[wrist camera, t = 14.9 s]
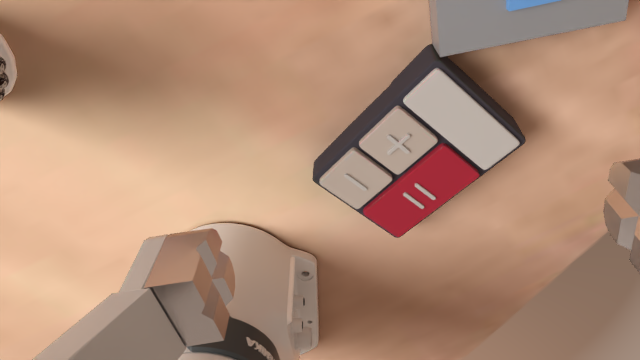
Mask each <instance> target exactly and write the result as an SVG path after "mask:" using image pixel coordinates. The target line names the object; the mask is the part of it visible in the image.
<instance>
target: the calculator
mask: <svg viewBox="0 0 640 360" xmlns="http://www.w3.org/2000/svg"><path fill="white" fill-rule="evenodd" d="M524 143H525V137H524V135H523V134H522V132H521V130H520V128H519V127H518V125H517V123H516V122H515V120H514V119H513V117H511V116H510V115H509V114H508V113H507V112H506V111H505V110H504V109H503V108H502V107H501V106H500V105H499V104H498V103H496V102H495V101H494V100H493V99H492V98H491V97H490V96H489V95H488V94H487V93H486V92H485V91H484V90H482V89H481V88H480V87H479V86H478V85H477V84H476V83H475V82H474V81H473V80H472V79H471V78H470V77H468V76H467V75H466V74H465V73H464V72H463V71H462V70H461V69H460V68H459V67H458V66H457V65H456V64H454V63H453V62H452V61H451V60H450V59H449V58H448V57H447V56H444V57H440V56H439V55H438V53H437V51H436V50H435V48H434V46H433V44H430V45H428V46H426V47H425V48H424V49H423V50H422V51H421V52H420V53H419V55H418V56H417V57H416V58H415V59H414V60H413V61H412V62H411V63H410V64H409V65H408V66H407V67H406V68H405V69H404V70H403V71H402V72H401V73H400V74H399V75H398V76H397V77H396V78H395V79H394V80H393V82H392V83H391V85H390V86H389V87H388V88H387V89H386V90H385V91H384V92H383V93H382V94H381V95H380V96H379V97H378V98H377V99H376V100H375V101H374V102H373V103H372V104H371V105H370V106H369V107H368V108H367V109H366V110H365V111H364V112H363V113H362V114H361V115H360V116H359V117H358V118H357V119H356V120H354V121H353V122H352V123H351V124H350V125H349V126H348V127H347V128H346V129H345V131H344V132H343V133H342V134H341V135H340V136H339V137H338V138H337V139H336V140H335V141H334V142H333V143H332V144H331V145H330V146H329V147H328V148H327V149H326V150H325V151H324V152H323V153H322V154H321V155H320V156H319V157H318V158H317V159H316V160H315V162H314V168H313V181H314V182H315V183H317V184H318V185H319V186H321V187H322V188H324V189H325V190H327V191H328V192H330V193H331V194H333V195H334V196H336V197H337V198H338V199H340V200H341V201H343V202H344V203H346V204H347V205H349V206H350V207H352V208H353V209H354V210H356V211H357V212H359V213H360V214H362V215H363V216H365V217H366V218H368V219H369V220H371V221H372V222H373V223H375V224H376V225H378V226H379V227H381V228H382V229H384V230H385V231H387V232H388V233H390V234H391V235H392V236H394V237H397V238H398V237H401V236H402V235H403V234H405V233H406V232H407V231H409V230H410V229H411V228H413V227H414V226H415V225H417V224H418V223H419V222H421V221H422V220H423V219H425V218H426V217H427V216H429V215H430V214H431V213H433V212H434V211H435V210H437V209H438V208H439V207H441V206H442V205H443V204H445V203H446V202H447V201H449V200H450V199H451V198H452V197H454V196H455V195H456V194H458V193H459V192H460V191H462V190H463V189H464V188H466V187H467V186H468V185H470V184H471V183H472V182H474V181H475V180H476V179H478V178H479V177H480V176H482V175H483V174H484V173H486V172H487V171H488V170H490V169H491V168H492V167H494V166H495V165H496V164H498V163H499V162H500V161H502V160H503V159H504V158H506V157H507V156H508V155H509V154H511V153H512V152H513V151H515V150H516V149H517V148H519V147H520V146H521V145H523V144H524Z"/></svg>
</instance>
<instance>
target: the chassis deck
mask: <svg viewBox="0 0 640 360" xmlns="http://www.w3.org/2000/svg"><path fill="white" fill-rule="evenodd" d="M628 2H629V0H561V1H556V2H551V3H547V4H542V5H537V6H532V7H528V8H523V9H518V10H514V11H508V10H507V9H506V0H429V8H430V21H431V33H432V44H433V46H434V48H435V50H436V51H437V53H438V55H439V56H440V57H444V56H449V55H454V54H459V53H464V52H469V51H474V50H479V49H484V48H489V47H494V46H499V45H504V44H509V43H514V42H519V41H524V40H529V39H534V38H539V37H544V36H549V35H554V34H559V33H564V32H569V31H574V30H580V29H585V28H590V27H595V26H600V25H605V24H610V23H615V22H620V21H625V20H626V15H627V8H628Z"/></svg>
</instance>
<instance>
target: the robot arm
mask: <svg viewBox="0 0 640 360" xmlns="http://www.w3.org/2000/svg"><path fill="white" fill-rule="evenodd" d="M608 181H609V182H610V184H611V185H612V186H613V187H614V189H613V190H612V191H611V193H610V194H609V195H608V196H607V197H606V198H605V202H604V211H603V212H604V218H605V223H606V226H607V228H608V231H609V232H610V235H611V236H612V238H613V239H614V240H615V242H616V243H617V244H619V245H621V246H623V247H625V248H627V249H630V250H631V254H630V259H629V260H630V261H631V263H632V264H633V265H634V267H635V268H636V269H637V271H638V272H639V273H640V159H634V160H628V161H622V162H616V163H613V165H612V167H611V168H610V171H609V177H608ZM304 271H307V272H304ZM318 341H319V315H318V281H317V260H316V258H315V257H314V256H313V255H312V254H310V253H307V252H304V251H301V250H298V249H294V248H291V247H289V246H287V245H285V244H284V243H282V242H281V241H279V240H278V239H276V238H275V237H273V236H272V235H270V234H268V233H266V232H264V231H262V230H259V229H257V228H254V227H250V226H246V225H242V224H234V223H216V224H209V225H204V226H201V227H198V228H195V229H193V230H191V231H188V232H181V233H174V234H170V235H161V236H155V237H149V238H147V239H146V240H144V242H143V244H142V246H141V248H140V250H139V252H138V254H137V256H136V258H135V260H134V262H133V264H132V266H131V268H130V270H129V272H128V274H127V276H126V278H125V280H124V282H123V284H122V287H121V289H120V291H119V293H113V294H111V295H110V296H108V297H107V298H106V299H105V300H104V301H102V302H101V303H100V304H99V305H97V306H96V307H95V308H94V309H93V310H91V311H90V312H89V313H88V314H87V315H85V316H84V317H83V318H82V319H81V320H79V321H78V322H77V323H76V324H75V325H73V326H72V327H71V328H70V329H68V330H67V331H66V332H65V333H64V334H62V335H61V336H60V337H59V338H58V339H56V340H55V341H54V342H53V343H52V344H50V345H49V346H48V347H47V348H45V349H44V350H43V351H42V352H41V353H39V354H38V355H37V356H36V357H35V358H33V359H32V360H299V358H300V355H301V354H304V353H306V352H308V351H310V350H312V349H313V348H315V347H316V346H317V345H318Z"/></svg>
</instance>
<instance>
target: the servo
mask: <svg viewBox="0 0 640 360" xmlns="http://www.w3.org/2000/svg"><path fill="white" fill-rule="evenodd" d="M556 1H561V0H506V9H507V10H508V11H514V10H518V9H523V8H528V7H532V6H537V5H542V4H547V3H551V2H556Z"/></svg>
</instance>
